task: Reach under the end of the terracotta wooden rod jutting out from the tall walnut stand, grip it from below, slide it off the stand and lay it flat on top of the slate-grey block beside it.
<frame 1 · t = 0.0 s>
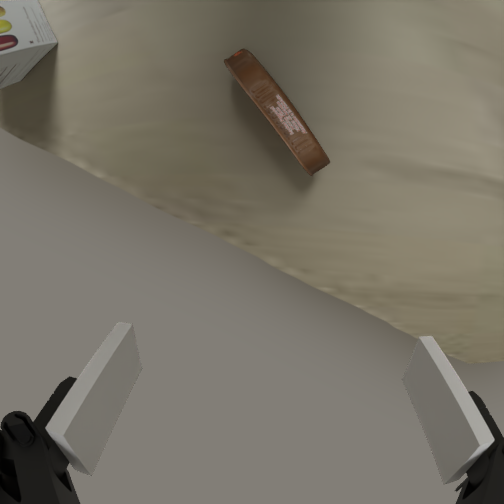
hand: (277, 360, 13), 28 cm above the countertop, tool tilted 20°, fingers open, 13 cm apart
tin: (279, 102, 31), on the countertop
supplement box: (27, 39, 24), on the countertop
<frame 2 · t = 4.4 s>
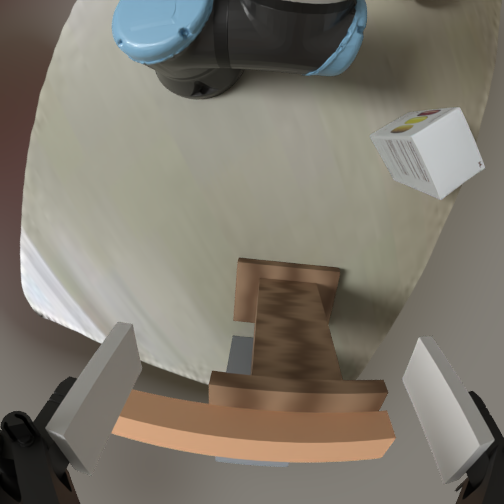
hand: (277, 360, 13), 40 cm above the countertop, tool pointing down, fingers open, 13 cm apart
stand: (285, 292, 56), on the countertop
supplement box: (401, 146, 46), on the countertop
rod: (247, 420, 29), point 30 cm above the countertop, touching stand
slate block: (260, 357, 62), on the countertop
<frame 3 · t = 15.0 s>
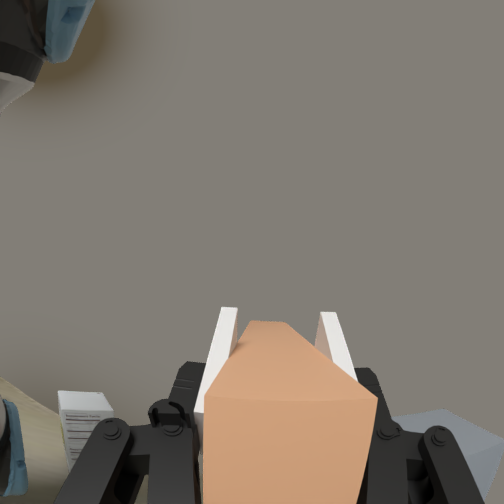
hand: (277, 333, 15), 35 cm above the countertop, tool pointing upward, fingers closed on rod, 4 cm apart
supplement box: (92, 477, 38), on the countertop
rod: (268, 388, 20), point 30 cm above the countertop, touching gripper, stand
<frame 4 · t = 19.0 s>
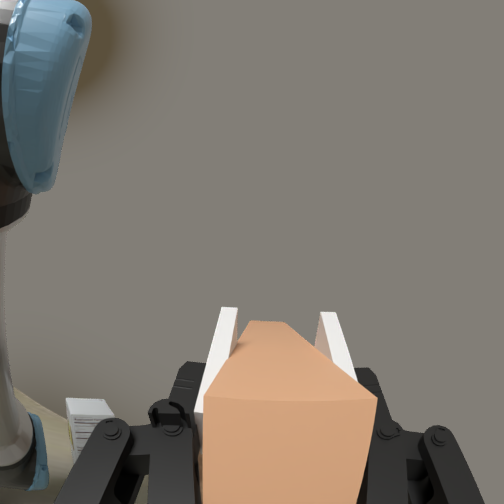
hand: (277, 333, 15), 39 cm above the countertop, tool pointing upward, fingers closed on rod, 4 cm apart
supplement box: (95, 472, 46), on the countertop
rod: (268, 388, 20), point 35 cm above the countertop, touching gripper
when the fingers open (31 cm above the countertop, at t = 22.9 s): rod drops 2 cm, resting on slate block.
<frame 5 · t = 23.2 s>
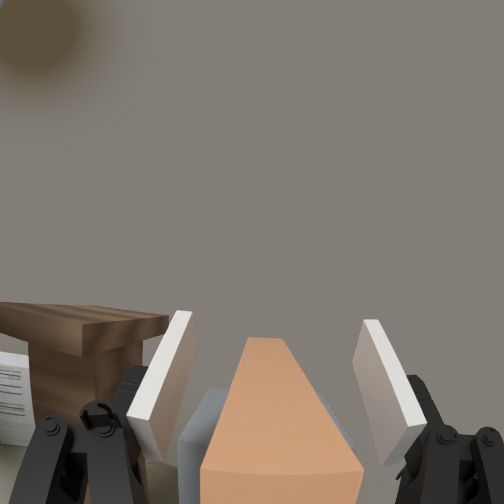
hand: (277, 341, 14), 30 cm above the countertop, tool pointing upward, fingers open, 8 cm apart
supplement box: (21, 437, 38), on the countertop
rod: (265, 413, 20), point 24 cm above the countertop, touching slate block
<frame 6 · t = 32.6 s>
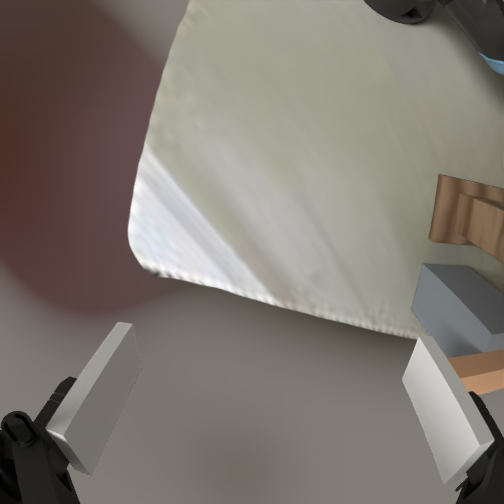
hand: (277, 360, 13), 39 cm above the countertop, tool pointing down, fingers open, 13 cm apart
stand: (469, 212, 47), on the countertop
slate block: (440, 287, 53), on the countertop
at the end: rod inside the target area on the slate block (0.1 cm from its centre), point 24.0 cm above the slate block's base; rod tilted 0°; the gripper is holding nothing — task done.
